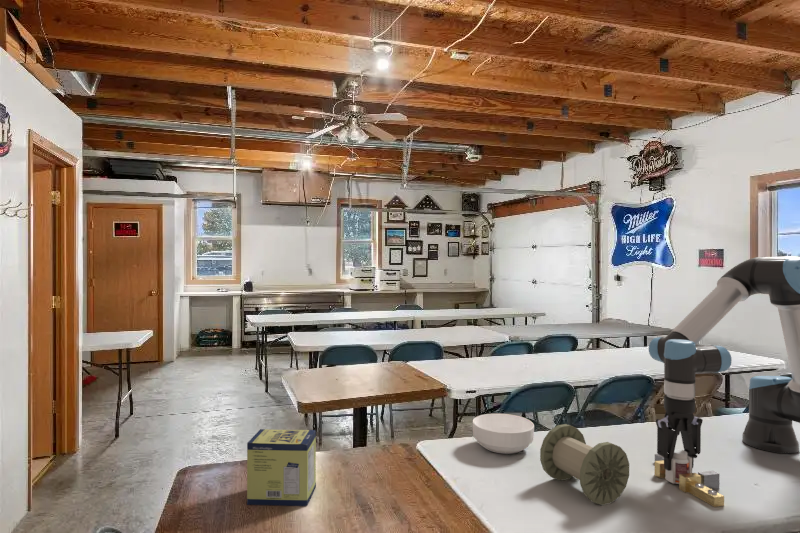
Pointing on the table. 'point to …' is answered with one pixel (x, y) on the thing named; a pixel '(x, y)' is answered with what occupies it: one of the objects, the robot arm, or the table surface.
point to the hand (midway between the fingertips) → (678, 480)
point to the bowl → (503, 432)
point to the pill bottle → (680, 463)
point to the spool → (585, 463)
